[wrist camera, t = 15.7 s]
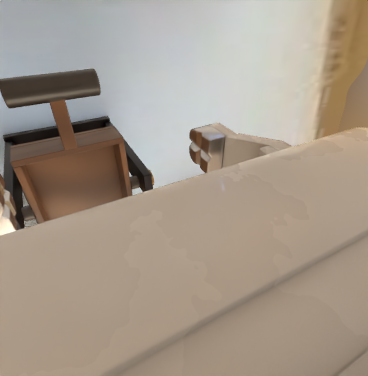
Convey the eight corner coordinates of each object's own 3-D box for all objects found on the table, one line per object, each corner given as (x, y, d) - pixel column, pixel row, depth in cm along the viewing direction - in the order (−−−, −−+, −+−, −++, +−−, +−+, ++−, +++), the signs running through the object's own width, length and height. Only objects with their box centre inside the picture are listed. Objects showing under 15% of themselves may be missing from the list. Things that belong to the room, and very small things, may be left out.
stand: (0, 135, 30) (-6, 214, 19) (109, 115, 35) (154, 169, 24) (11, 159, 32) (11, 243, 21) (113, 137, 37) (156, 196, 26)
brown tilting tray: (-36, 75, 17) (-44, 87, 15) (112, 60, 21) (125, 67, 19) (40, 237, 26) (43, 260, 24) (135, 206, 30) (145, 224, 28)
